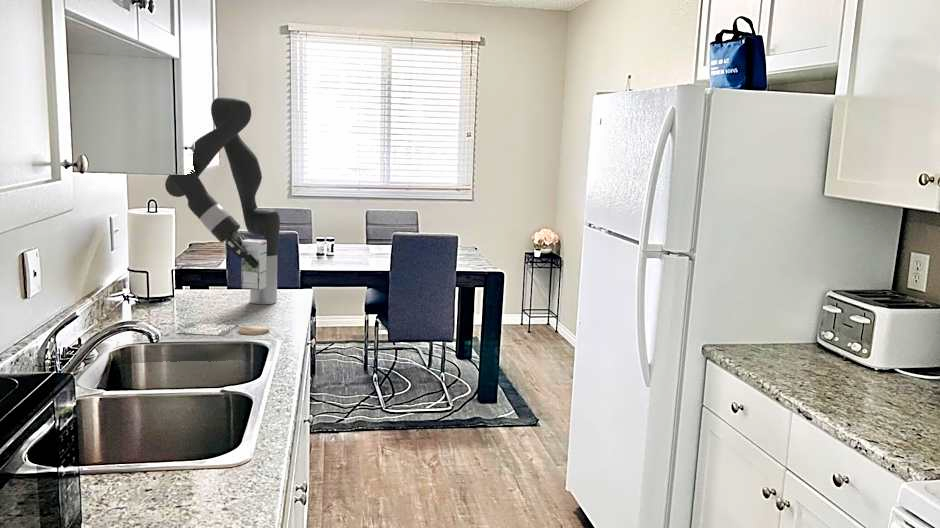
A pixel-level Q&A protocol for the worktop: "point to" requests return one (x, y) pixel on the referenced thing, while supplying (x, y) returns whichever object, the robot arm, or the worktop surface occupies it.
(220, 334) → the plaque
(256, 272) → the syrup box
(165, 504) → the worktop surface
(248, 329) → the cork coaster
